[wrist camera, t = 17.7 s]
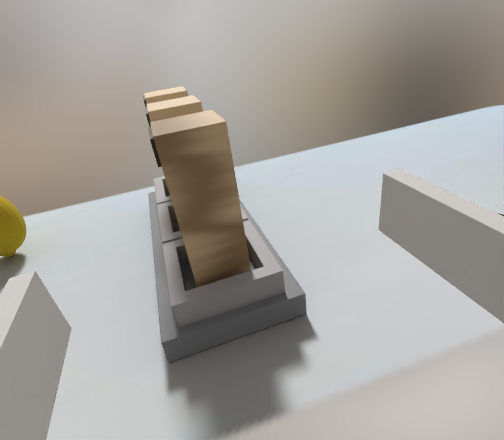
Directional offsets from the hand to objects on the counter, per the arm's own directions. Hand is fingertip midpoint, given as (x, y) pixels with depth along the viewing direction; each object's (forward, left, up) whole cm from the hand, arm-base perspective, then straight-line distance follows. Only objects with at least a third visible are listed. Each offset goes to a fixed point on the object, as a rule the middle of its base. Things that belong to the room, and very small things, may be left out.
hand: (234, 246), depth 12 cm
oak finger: (0, -10, -9) cm, 13 cm away
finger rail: (0, -18, -11) cm, 21 cm away
